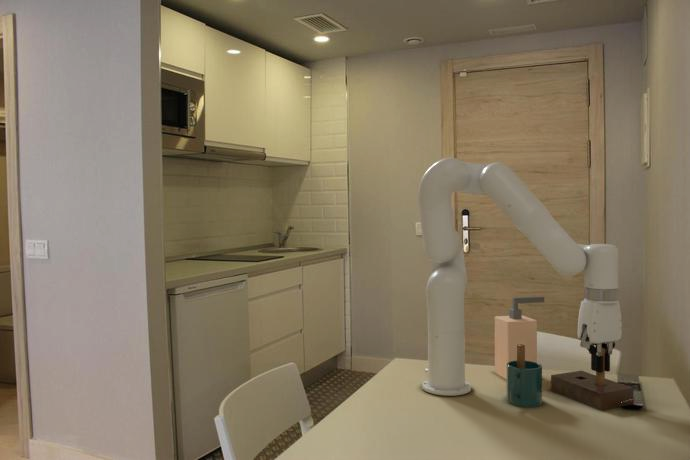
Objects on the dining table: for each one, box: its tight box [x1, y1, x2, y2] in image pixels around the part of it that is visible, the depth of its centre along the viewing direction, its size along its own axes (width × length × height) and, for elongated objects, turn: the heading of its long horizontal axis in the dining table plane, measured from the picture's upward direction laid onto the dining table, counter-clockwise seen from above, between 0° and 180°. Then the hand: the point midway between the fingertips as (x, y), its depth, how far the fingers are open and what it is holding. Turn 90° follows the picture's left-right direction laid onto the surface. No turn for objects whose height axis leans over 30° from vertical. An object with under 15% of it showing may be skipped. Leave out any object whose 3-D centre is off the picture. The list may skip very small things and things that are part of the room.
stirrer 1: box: [517, 344, 525, 369], centre depth 141 cm, size 1×1×13 cm
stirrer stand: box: [550, 370, 634, 411], centre depth 143 cm, size 16×10×4 cm, turn 22°
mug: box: [506, 360, 543, 408], centre depth 139 cm, size 12×8×9 cm
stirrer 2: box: [595, 347, 606, 387], centre depth 140 cm, size 1×1×13 cm
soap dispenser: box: [494, 296, 545, 381], centre depth 162 cm, size 13×9×22 cm
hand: (600, 370), depth 140 cm, fingers closed on stirrer 2, 1 cm apart
